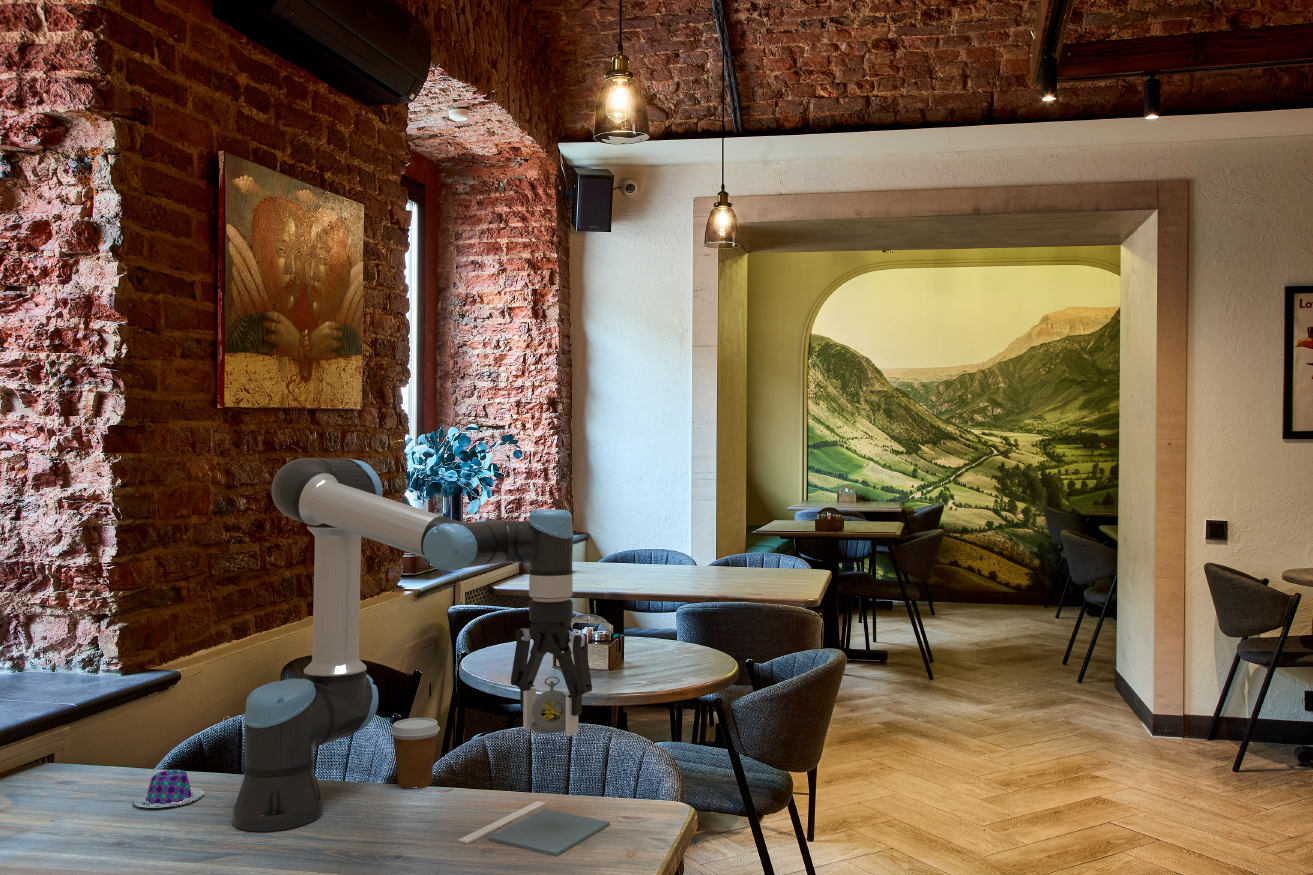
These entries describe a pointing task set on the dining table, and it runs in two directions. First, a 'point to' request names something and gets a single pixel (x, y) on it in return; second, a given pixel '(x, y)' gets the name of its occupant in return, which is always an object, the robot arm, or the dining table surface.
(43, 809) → the dining table surface
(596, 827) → the mat
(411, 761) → the disposable coffee cup
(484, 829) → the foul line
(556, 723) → the pocket watch
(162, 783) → the purple domed brimmed part
